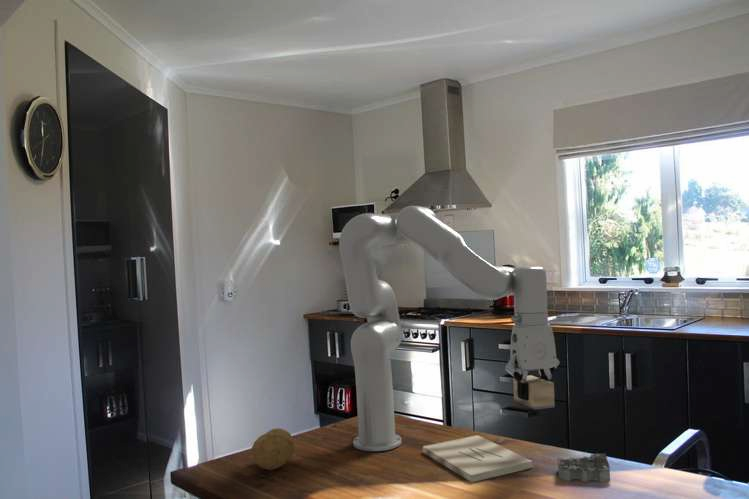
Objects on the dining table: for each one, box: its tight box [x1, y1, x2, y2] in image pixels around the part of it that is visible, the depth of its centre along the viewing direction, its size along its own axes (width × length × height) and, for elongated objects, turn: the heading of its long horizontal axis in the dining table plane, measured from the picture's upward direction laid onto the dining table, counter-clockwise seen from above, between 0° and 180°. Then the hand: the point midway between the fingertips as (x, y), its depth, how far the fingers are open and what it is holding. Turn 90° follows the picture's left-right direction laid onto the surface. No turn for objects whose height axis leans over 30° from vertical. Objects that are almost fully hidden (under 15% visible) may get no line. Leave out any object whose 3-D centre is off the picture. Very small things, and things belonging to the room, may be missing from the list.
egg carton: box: [556, 453, 611, 483], centre depth 126 cm, size 11×8×4 cm
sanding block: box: [512, 374, 556, 410], centre depth 137 cm, size 9×5×6 cm, turn 18°
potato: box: [251, 427, 296, 471], centre depth 141 cm, size 10×14×8 cm
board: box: [422, 434, 534, 483], centre depth 138 cm, size 22×16×2 cm
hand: (533, 396), depth 137 cm, fingers closed on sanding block, 5 cm apart
